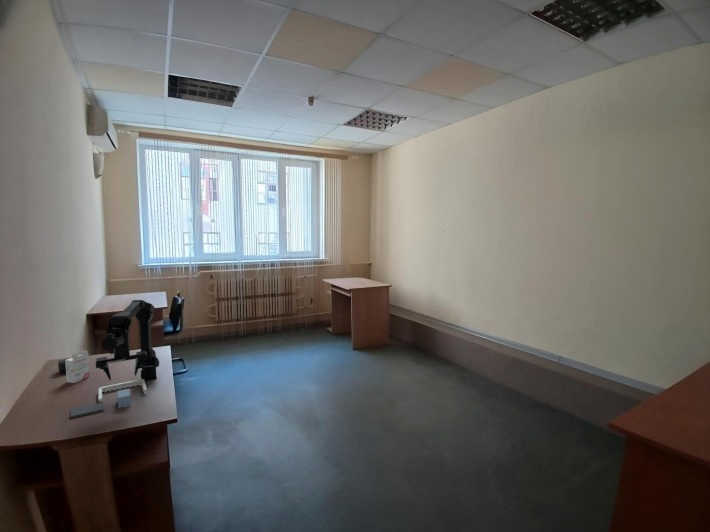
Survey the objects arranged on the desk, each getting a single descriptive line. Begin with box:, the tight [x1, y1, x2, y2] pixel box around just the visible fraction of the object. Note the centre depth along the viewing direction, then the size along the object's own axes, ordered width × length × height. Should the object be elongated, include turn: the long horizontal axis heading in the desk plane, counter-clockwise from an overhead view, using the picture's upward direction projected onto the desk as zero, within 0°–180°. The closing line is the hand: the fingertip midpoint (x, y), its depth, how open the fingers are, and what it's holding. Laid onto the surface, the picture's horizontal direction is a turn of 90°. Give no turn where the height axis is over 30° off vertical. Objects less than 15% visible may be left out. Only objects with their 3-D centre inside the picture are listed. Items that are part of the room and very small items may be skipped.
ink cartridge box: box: [65, 349, 91, 384], centre depth 180 cm, size 9×5×15 cm, turn 168°
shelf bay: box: [98, 378, 148, 403], centre depth 166 cm, size 18×14×2 cm
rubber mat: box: [70, 401, 105, 420], centre depth 149 cm, size 11×8×1 cm
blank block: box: [116, 388, 132, 409], centre depth 156 cm, size 4×8×5 cm, turn 36°
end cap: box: [57, 358, 67, 374], centre depth 191 cm, size 10×7×7 cm
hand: (123, 377), depth 155 cm, fingers open, 9 cm apart
